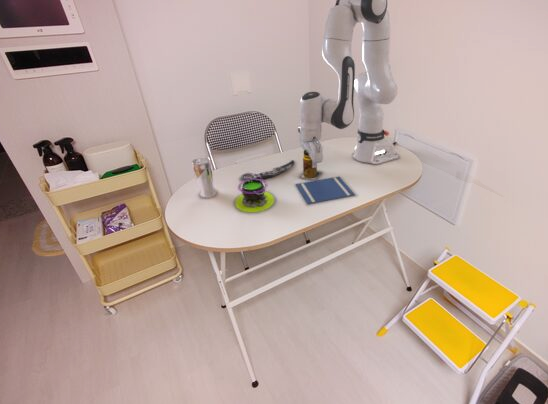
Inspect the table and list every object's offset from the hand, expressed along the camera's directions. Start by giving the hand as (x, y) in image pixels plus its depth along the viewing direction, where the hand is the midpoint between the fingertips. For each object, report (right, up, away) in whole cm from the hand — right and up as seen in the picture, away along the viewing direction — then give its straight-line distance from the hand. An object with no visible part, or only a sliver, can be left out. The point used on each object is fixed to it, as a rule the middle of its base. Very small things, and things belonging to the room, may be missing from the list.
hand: (311, 163), depth 133 cm
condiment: (0, -5, +4) cm, 6 cm away
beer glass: (-42, -14, -9) cm, 45 cm away
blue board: (+6, -12, -7) cm, 15 cm away
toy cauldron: (-22, -17, -14) cm, 31 cm away
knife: (-18, -3, +6) cm, 20 cm away
